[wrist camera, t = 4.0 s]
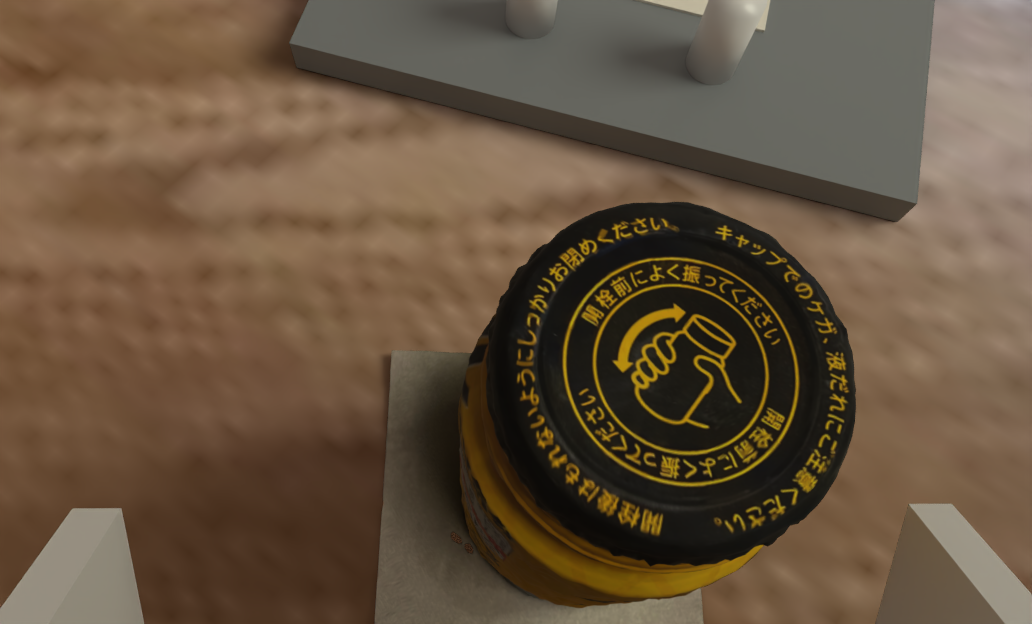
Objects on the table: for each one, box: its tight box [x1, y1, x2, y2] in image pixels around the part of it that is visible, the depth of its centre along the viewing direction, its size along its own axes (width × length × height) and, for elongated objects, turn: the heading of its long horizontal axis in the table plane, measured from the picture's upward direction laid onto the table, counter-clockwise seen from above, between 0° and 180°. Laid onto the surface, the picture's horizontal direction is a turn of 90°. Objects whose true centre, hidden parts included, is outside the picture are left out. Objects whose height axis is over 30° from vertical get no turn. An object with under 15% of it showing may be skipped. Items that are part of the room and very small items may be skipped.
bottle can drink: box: [374, 202, 856, 624], centre depth 17 cm, size 7×8×12 cm
